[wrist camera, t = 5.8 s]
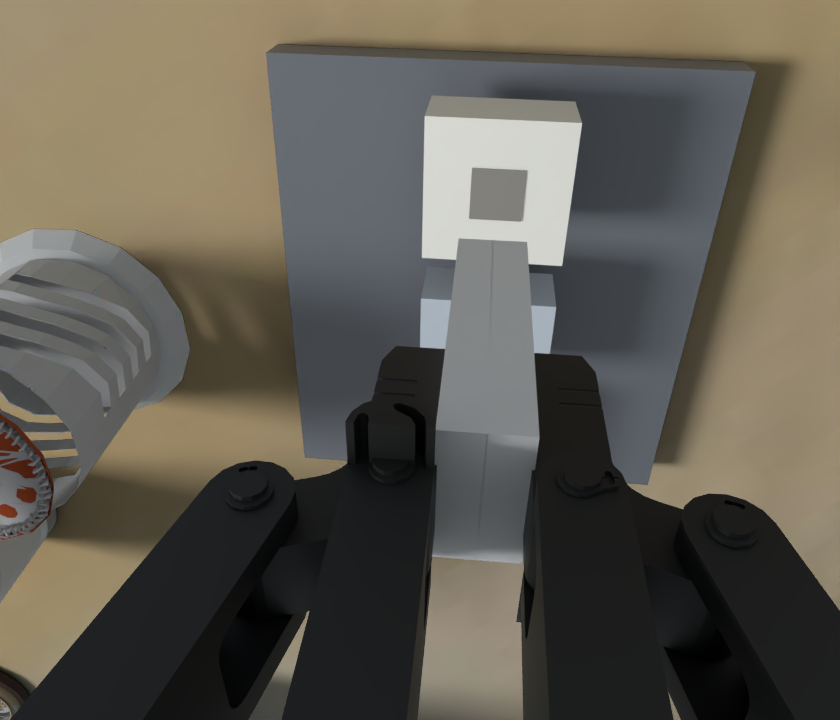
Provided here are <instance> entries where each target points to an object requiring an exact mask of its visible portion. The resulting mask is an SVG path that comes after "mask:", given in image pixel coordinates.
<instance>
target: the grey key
mask: <svg viewBox="0 0 840 720" xmlns="http://www.w3.org/2000/svg"><path fill="white" fill-rule="evenodd" d="M454 273H455V268H440V267H427V271H426V276H425V281H424V286H423V291H422V296H421V320H420V347H422V348H437V349H445V347H446V338H447V330H448V322H449V314H450V305H451V297H452V289H453V281H454ZM529 278H530V294H531V310H532V326H533V342H534V353H544V354H550V349H551V342H552V334H553V327H554V320H555V313H556V300H555V292H554V283H553V275H552V274H541V273H529Z"/></svg>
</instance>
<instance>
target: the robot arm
mask: <svg viewBox="0 0 840 720" xmlns="http://www.w3.org/2000/svg"><path fill="white" fill-rule="evenodd" d="M345 428H346V445H347V462H348V463H347V464H346V465H345V466H343V467H342V468H340V469H338V470H336V471H334V472H332V473H329V474H326V475H322V476H318V477H312V478H306V479H300V480H294V478H293V477H292V476H291V475H290V473H289V472H288V471H287V470H286V469H285V468H283V467H281V466H279V465H276V464H274V463H272V462H263V461H250V462H244V463H238V464H236V465H234V466H231V467H229V468H227V469H224V470H222V471H221V472H220V473H219V474H218V475H216V476H215V477H214V478H213V479H212V480H210V482H209V483H208V484H207V485H206V486H205V488H204V489H203V490H202V491H201V492H200V493H199V495H198V496H197V497H196V498H195V499H194V501H193V502H192V503H191V504H190V505H189V507H188V508H187V509H186V510H185V511H184V513H183V514H182V515H181V516H180V517H179V519H178V520H177V521H176V522H175V523H174V524H173V526H172V527H171V528H170V529H169V530H168V532H167V533H166V534H165V535H164V536H163V538H162V539H161V540H160V541H159V542H158V544H157V545H156V546H155V547H154V548H153V550H152V551H151V552H150V553H149V554H148V556H147V557H146V558H145V559H144V560H143V561H142V563H141V564H140V565H139V566H138V567H137V569H136V570H135V571H134V572H133V573H132V575H131V576H130V577H129V578H128V579H127V581H126V582H125V583H124V584H123V585H122V587H121V588H120V589H119V590H118V591H117V592H116V594H115V595H114V596H113V597H112V598H111V600H110V601H109V602H108V603H107V604H106V606H105V607H104V608H103V609H102V610H101V612H100V613H99V614H98V615H97V616H96V618H95V619H94V620H93V621H92V622H91V623H90V625H89V626H88V627H87V628H86V629H85V631H84V632H83V633H82V634H81V635H80V637H79V638H78V639H77V640H76V641H75V643H74V644H73V645H72V646H71V647H70V649H69V650H68V651H67V652H66V653H65V655H64V656H63V657H62V658H61V659H60V660H59V662H58V663H57V664H56V665H55V666H54V668H53V669H52V670H51V671H50V672H49V674H48V675H47V676H46V677H45V678H44V680H43V681H42V682H41V683H40V684H39V686H38V687H37V688H36V689H35V690H34V691H33V693H32V694H31V695H30V696H29V697H28V699H27V700H26V701H25V702H24V703H23V705H22V706H21V707H20V708H19V709H18V711H17V712H16V713H15V714H14V715H13V717H12V718H11V719H10V720H248V719H249V717H250V716H251V714H252V712H253V710H254V708H255V707H256V705H257V703H258V701H259V699H260V698H261V696H262V694H263V692H264V690H265V689H266V687H267V685H268V683H269V681H270V680H271V678H272V676H273V674H274V672H275V671H276V669H277V667H278V665H279V663H280V662H281V660H282V658H283V656H284V655H285V653H286V651H287V649H288V647H289V646H290V644H291V642H292V640H293V638H294V637H295V635H296V633H297V631H298V629H299V628H300V626H301V624H302V622H303V620H304V619H305V616H306V613H307V611H310V612H309V616H308V620H307V624H306V627H305V631H304V635H303V639H302V643H301V647H300V651H299V655H298V658H297V662H296V666H295V670H294V674H293V678H292V682H291V686H290V690H289V693H288V697H287V701H286V705H285V709H284V713H283V717H282V720H417V716H418V706H419V696H420V686H421V676H422V666H423V656H424V646H425V635H426V625H427V615H428V605H429V595H430V585H431V561H432V556H433V557H445V558H457V559H469V560H480V561H492V562H504V563H516V564H522V559H523V554H524V573H523V580H522V587H521V594H520V601H519V608H518V615H517V621H516V622H521V627H522V676H523V720H673V715H672V710H671V704H670V699H669V694H670V696H671V698H672V701H673V703H674V705H675V707H676V709H677V712H678V714H679V716H680V718H681V720H840V611H839V609H838V608H837V607H836V605H835V604H834V602H833V601H832V600H831V598H830V597H829V596H828V594H827V593H826V591H825V590H824V589H823V587H822V586H821V585H820V583H819V582H818V580H817V579H816V578H815V576H814V575H813V574H812V572H811V571H810V570H809V568H808V567H807V565H806V564H805V563H804V561H803V560H802V559H801V557H800V556H799V554H798V553H797V552H796V550H795V549H794V548H793V546H792V545H791V543H790V542H789V541H788V539H787V538H786V537H785V535H784V534H783V532H782V531H781V530H780V528H779V527H778V526H777V524H776V523H775V522H774V521H773V520H772V519H771V518H770V517H769V516H768V515H767V514H766V513H765V512H764V511H763V510H761V509H760V508H758V507H756V506H755V505H753V504H751V503H749V502H748V501H746V500H743V499H740V498H736V497H733V496H730V495H725V494H706V495H702V496H699V497H695V498H693V499H692V500H691V501H690V502H689V503H688V504H687V505H685V506H684V509H680V508H677V507H673V506H670V505H667V504H664V503H661V502H658V501H655V500H653V499H650V498H648V497H645V496H643V495H641V494H640V493H638V492H636V491H635V490H633V489H631V488H630V487H629V486H628V485H627V483H626V481H625V479H624V477H623V475H622V473H621V472H620V471H619V470H618V469H617V468H616V467H615V466H614V465H613V463H612V458H611V452H610V447H609V441H608V436H607V430H606V425H605V420H604V414H603V409H602V403H601V398H600V394H599V387H598V381H597V376H596V372H595V371H594V370H593V369H592V367H591V366H590V365H589V364H588V363H587V361H586V360H585V359H584V358H583V357H582V356H575V355H560V354H544V353H534V342H533V326H532V310H531V294H530V278H529V262H528V247H527V242H518V241H500V240H481V239H462V238H459V240H458V248H457V256H456V264H455V273H454V281H453V289H452V297H451V305H450V314H449V322H448V330H447V338H446V347H445V349H437V348H422V347H406V346H395V347H394V348H393V349H392V350H391V351H390V352H389V353H388V354H387V355H386V356H385V357H384V358H383V359H382V361H381V365H380V369H379V373H378V377H377V381H376V385H375V389H374V395H373V397H372V401H369V402H365V403H363V404H361V405H360V406H359V407H357V408H356V409H354V410H353V411H351V413H350V415H349V416H348V418H347V420H346V421H345ZM668 692H669V694H668Z"/></svg>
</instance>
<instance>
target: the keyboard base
mask: <svg viewBox="0 0 840 720" xmlns="http://www.w3.org/2000/svg"><path fill="white" fill-rule="evenodd" d="M266 56H267V67H268V77H269V88H270V98H271V109H272V119H273V130H274V140H275V151H276V161H277V172H278V182H279V193H280V203H281V214H282V224H283V235H284V245H285V256H286V266H287V277H288V287H289V297H290V308H291V318H292V329H293V339H294V350H295V360H296V371H297V381H298V392H299V402H300V413H301V423H302V434H303V444H304V455H305V457H306V458H318V459H331V460H343V461H347V445H346V428H345V421H346V420H347V418H348V416H349V415H350V413H351V411H353V410H354V409H356V408H357V407H359V406H360V405H361V404H363V403H365V402H369V401H372V397H373V395H374V389H375V385H376V381H377V377H378V373H379V369H380V365H381V361H382V359H383V358H384V357H385V356H386V355H387V354H388V353H389V352H390V351H391V350H392V349H393V348H394V347H395V346H406V347H420V320H421V296H422V291H423V286H424V281H425V276H426V271H427V267H440V268H455V264H456V260H450V259H433V258H422V220H423V171H424V121H425V113H426V111H427V108H428V105H429V102H430V99H431V96H455V97H479V98H502V99H526V100H550V101H573V102H576V105H577V108H578V111H579V115H580V118H581V121H582V128H581V135H580V142H579V149H578V156H577V163H576V171H575V178H574V185H573V192H572V199H571V206H570V213H569V220H568V228H567V235H566V242H565V249H564V256H563V263H562V266H552V265H535V264H529V273H541V274H552V275H553V283H554V292H555V300H556V313H555V320H554V327H553V334H552V342H551V349H550V354H560V355H575V356H582V357H583V358H584V359H585V360H586V361H587V363H588V364H589V365H590V366H591V367H592V369H593V370H594V371H595V372H596V376H597V381H598V387H599V394H600V398H601V403H602V409H603V414H604V420H605V425H606V430H607V436H608V441H609V447H610V452H611V458H612V463H613V465H614V466H615V467H616V468H617V469H618V470H619V471H620V472H621V473H622V475H623V477H624V479H625V481H626V483H630V484H643V485H648V481H649V477H650V473H651V470H652V466H653V462H654V458H655V454H656V451H657V447H658V443H659V439H660V435H661V432H662V428H663V424H664V420H665V416H666V412H667V409H668V405H669V401H670V397H671V393H672V390H673V386H674V382H675V378H676V374H677V371H678V367H679V363H680V359H681V355H682V352H683V348H684V344H685V340H686V336H687V333H688V329H689V325H690V321H691V317H692V313H693V310H694V306H695V302H696V298H697V294H698V291H699V287H700V283H701V279H702V275H703V272H704V268H705V264H706V260H707V256H708V253H709V249H710V245H711V241H712V237H713V234H714V230H715V226H716V222H717V218H718V214H719V211H720V207H721V203H722V199H723V195H724V192H725V188H726V184H727V180H728V176H729V173H730V169H731V165H732V161H733V157H734V154H735V150H736V146H737V142H738V138H739V134H740V131H741V127H742V123H743V119H744V115H745V112H746V108H747V104H748V100H749V96H750V93H751V89H752V85H753V81H754V77H755V74H756V71H755V70H753V69H752V68H751V67H749V66H748V65H747V64H745V63H744V62H735V61H708V60H682V59H655V58H629V57H602V56H576V55H549V54H523V53H496V52H470V51H443V50H417V49H390V48H364V47H337V46H311V45H284V44H277V45H276V46H275V47H273V48H272V49H271V50H269V51H268V52H266Z"/></svg>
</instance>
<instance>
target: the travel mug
mask: <svg viewBox="0 0 840 720" xmlns="http://www.w3.org/2000/svg"><path fill="white" fill-rule="evenodd" d="M55 522H56V508H55V509H53V510H51V514H50V516H49V517H48V518H47V519H46V520H45V521H44V522H43V523H42V524H41V525H40V526H39V527H38V528H37V529H35V530H34V531H33V532H31V533H28V534H24V535H20V536H17V537H13V538H10V539H6V540H0V572H1V589H0V603H1V601H2V600H3V598H4V597H5V595H6V594H7V593H8V591H9V590H10V588H11V587H12V585H13V584H14V583H15V581H16V580H17V578H18V577H19V575H20V574H21V573H22V571H23V570H24V568H25V567H26V565H27V564H28V563H29V561H30V560H31V558H32V557H33V555H34V554H35V553H36V551H37V550H38V548H39V547H40V545H41V544H42V543H43V541H44V540H45V538H46V537H47V535H48V534H49V533H50V531H51V530H52V528H53V527H54V525H55Z"/></svg>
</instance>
